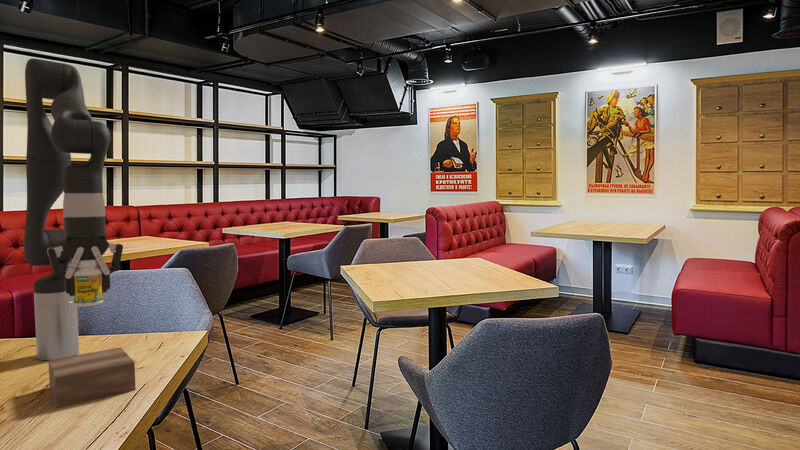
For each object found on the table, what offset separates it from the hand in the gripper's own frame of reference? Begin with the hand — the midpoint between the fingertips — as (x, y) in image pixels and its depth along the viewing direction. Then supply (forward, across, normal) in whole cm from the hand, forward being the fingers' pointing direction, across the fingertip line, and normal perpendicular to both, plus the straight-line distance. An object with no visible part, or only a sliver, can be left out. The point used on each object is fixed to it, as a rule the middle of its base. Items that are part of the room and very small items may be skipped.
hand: (88, 293), depth 107 cm
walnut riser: (+21, 0, 0) cm, 21 cm away
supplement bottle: (+3, 0, 0) cm, 3 cm away
